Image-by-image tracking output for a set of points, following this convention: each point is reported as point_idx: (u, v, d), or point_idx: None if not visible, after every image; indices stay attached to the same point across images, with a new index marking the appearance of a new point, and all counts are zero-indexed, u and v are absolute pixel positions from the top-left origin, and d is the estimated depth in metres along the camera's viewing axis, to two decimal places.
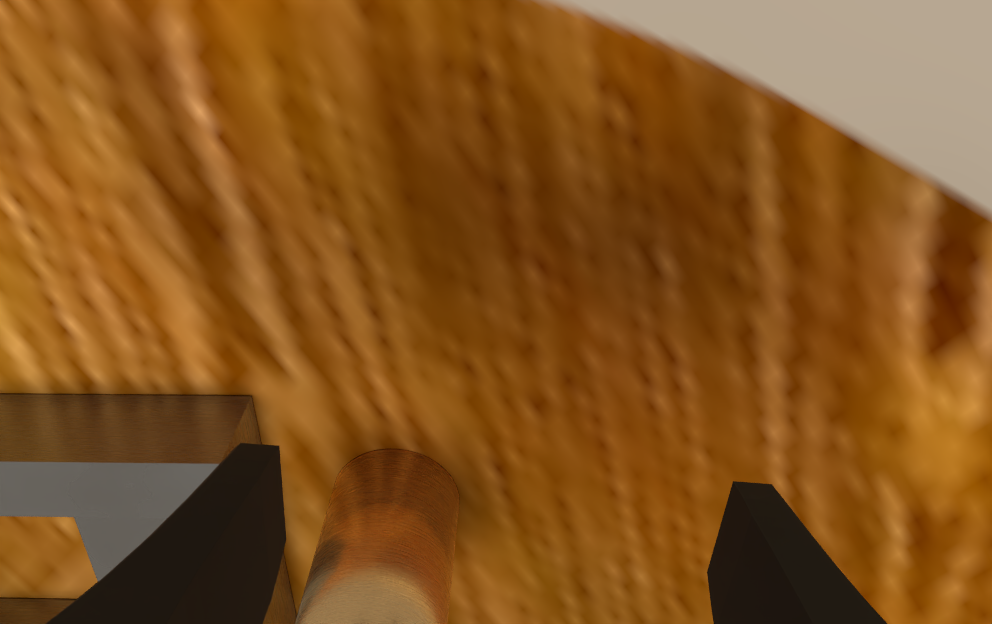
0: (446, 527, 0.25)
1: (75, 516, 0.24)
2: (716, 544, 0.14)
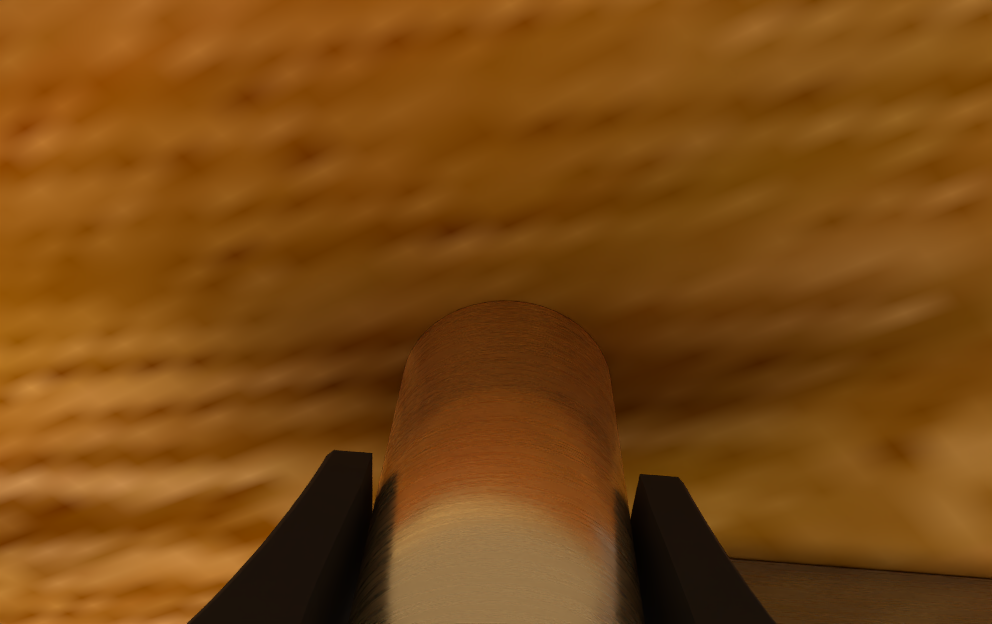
0: (459, 373, 0.14)
1: None
2: None
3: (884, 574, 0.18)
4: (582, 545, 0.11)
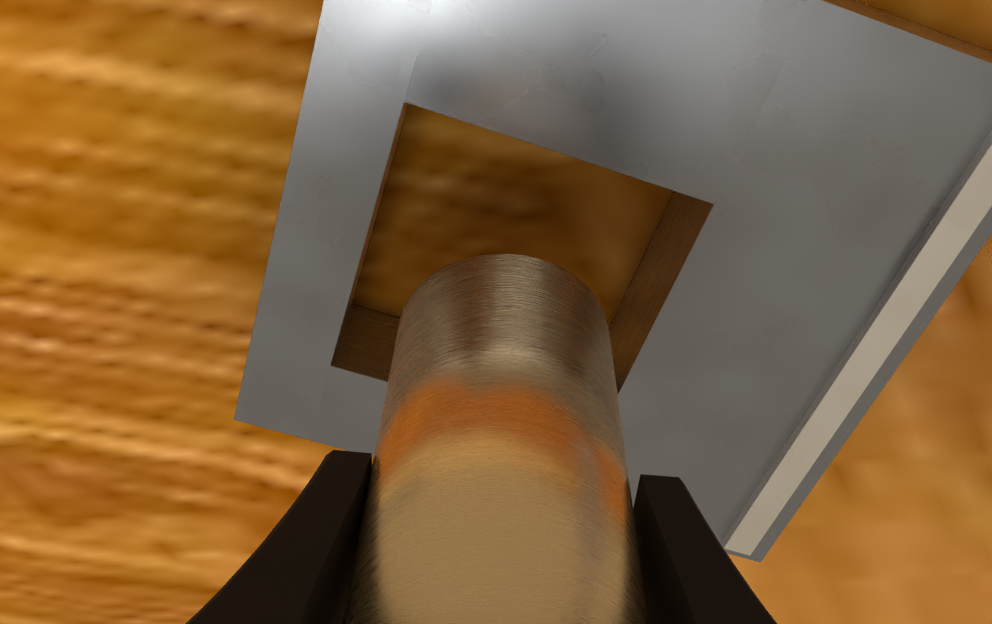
0: (455, 332, 0.13)
1: (403, 98, 0.18)
2: None
3: (920, 25, 0.19)
4: (582, 514, 0.11)
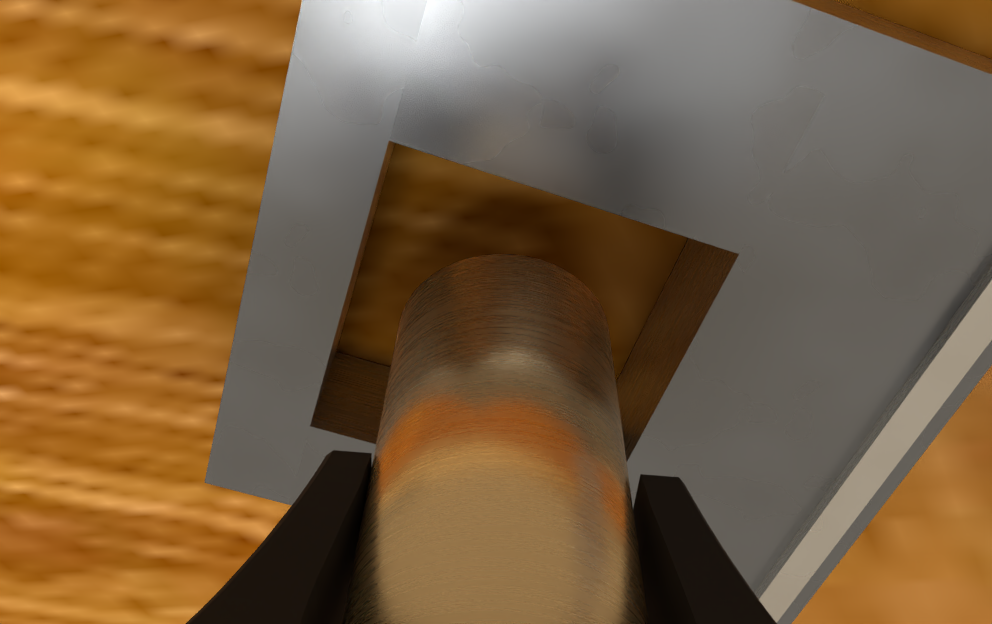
0: (455, 332, 0.13)
1: (388, 137, 0.15)
2: None
3: (969, 51, 0.17)
4: (582, 515, 0.11)
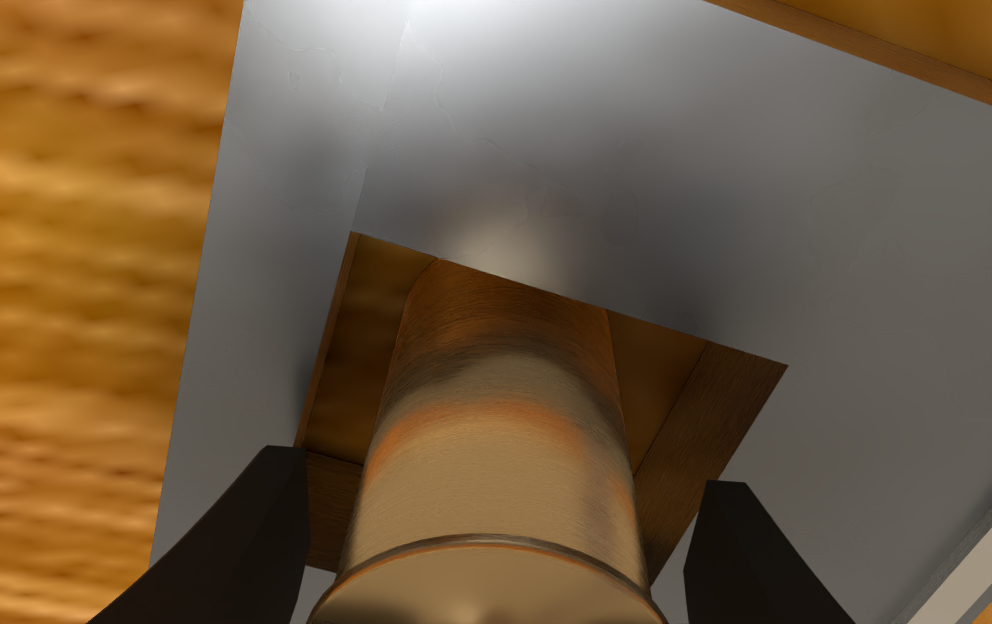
0: (457, 298, 0.14)
1: (349, 226, 0.12)
2: (691, 542, 0.14)
3: None
4: (578, 444, 0.11)
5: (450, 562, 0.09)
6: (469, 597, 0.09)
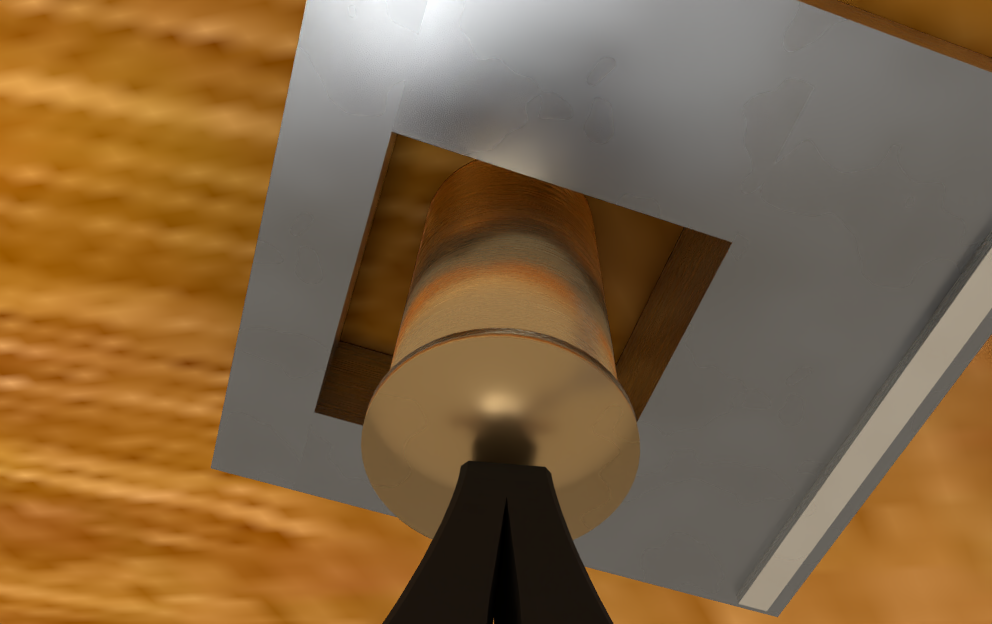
0: (473, 196, 0.18)
1: (391, 128, 0.16)
2: None
3: (956, 45, 0.18)
4: (566, 288, 0.15)
5: (474, 345, 0.12)
6: (487, 373, 0.13)
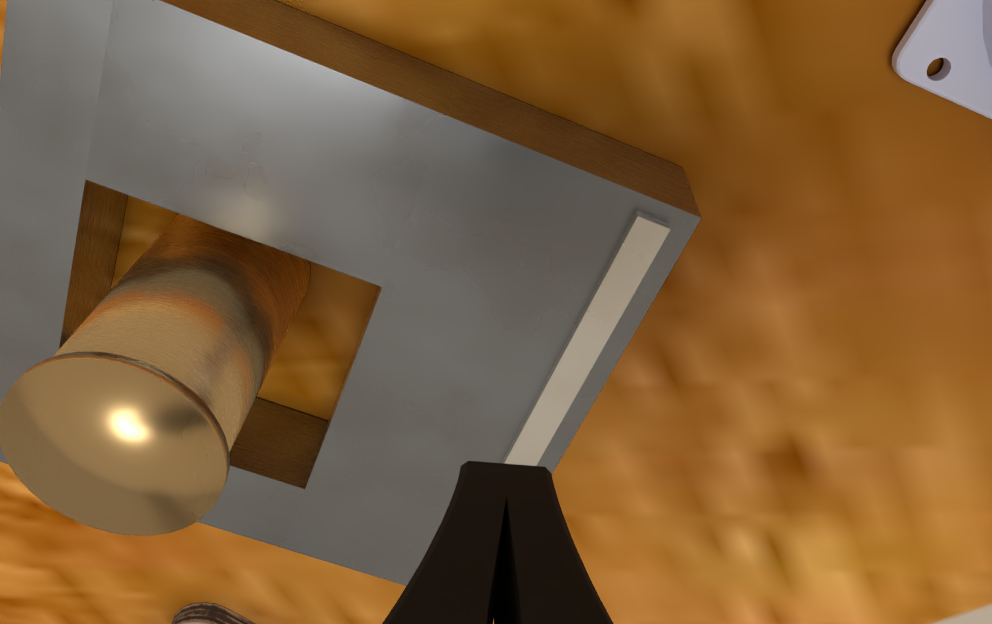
0: (174, 233, 0.21)
1: (84, 176, 0.19)
2: None
3: (592, 131, 0.21)
4: (200, 320, 0.18)
5: (74, 365, 0.16)
6: (87, 387, 0.16)
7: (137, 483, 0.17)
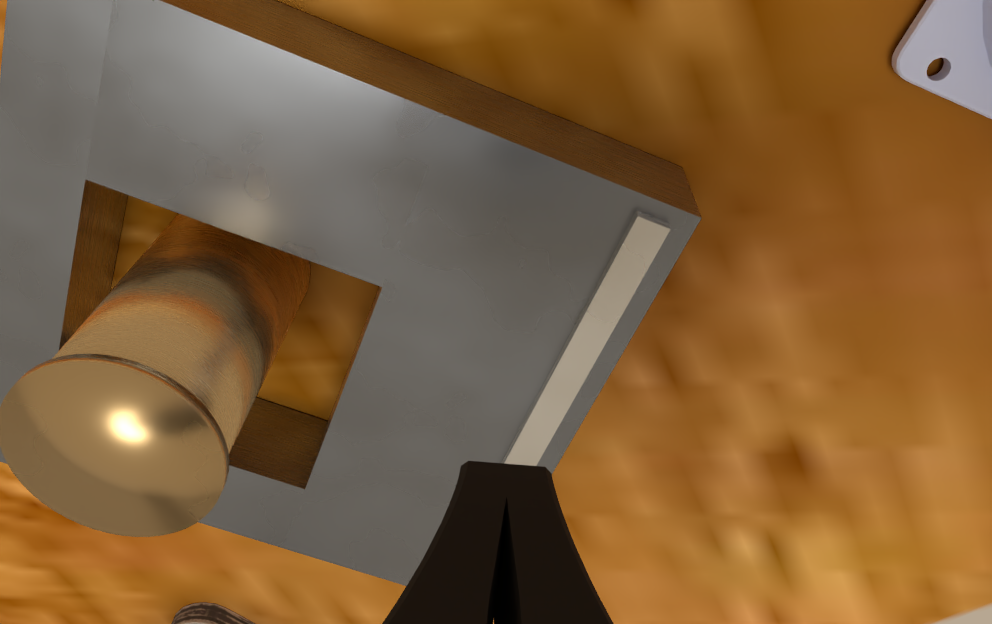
0: (174, 233, 0.21)
1: (84, 176, 0.19)
2: None
3: (592, 131, 0.21)
4: (200, 321, 0.18)
5: (73, 367, 0.16)
6: (87, 389, 0.16)
7: (137, 484, 0.17)
